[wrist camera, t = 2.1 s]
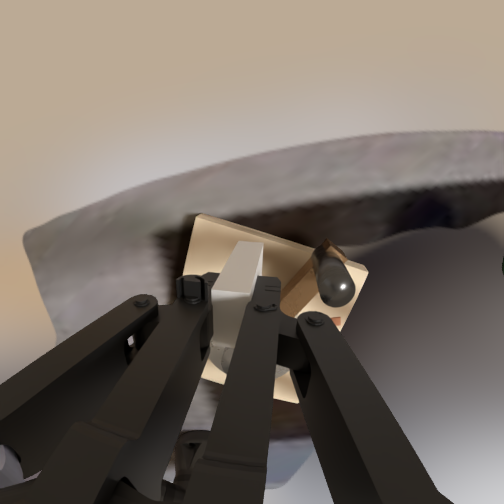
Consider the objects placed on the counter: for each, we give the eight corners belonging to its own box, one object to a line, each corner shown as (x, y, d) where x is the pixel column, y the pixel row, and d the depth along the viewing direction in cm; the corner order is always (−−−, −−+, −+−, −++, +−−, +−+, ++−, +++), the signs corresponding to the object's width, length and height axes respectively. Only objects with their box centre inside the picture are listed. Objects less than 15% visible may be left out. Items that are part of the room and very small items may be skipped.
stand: (297, 393, 35) (297, 404, 33) (171, 355, 36) (166, 365, 33) (363, 265, 29) (369, 273, 27) (201, 213, 29) (195, 217, 27)
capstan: (263, 377, 32) (256, 427, 25) (193, 332, 31) (170, 378, 23) (369, 273, 27) (395, 312, 19) (292, 209, 26) (296, 230, 18)
